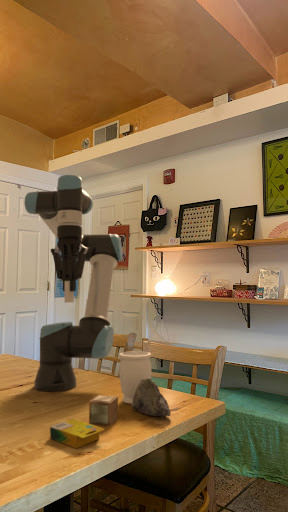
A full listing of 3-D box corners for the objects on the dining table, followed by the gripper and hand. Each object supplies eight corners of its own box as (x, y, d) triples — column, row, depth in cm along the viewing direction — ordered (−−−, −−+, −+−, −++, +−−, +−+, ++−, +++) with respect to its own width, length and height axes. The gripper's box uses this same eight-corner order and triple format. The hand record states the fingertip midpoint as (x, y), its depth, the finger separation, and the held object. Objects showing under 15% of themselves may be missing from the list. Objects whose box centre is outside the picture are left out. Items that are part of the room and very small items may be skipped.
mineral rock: (171, 422, 105) (171, 384, 106) (131, 423, 105) (131, 384, 106) (167, 408, 118) (167, 374, 119) (132, 408, 118) (132, 374, 119)
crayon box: (49, 438, 94) (81, 451, 87) (49, 426, 95) (81, 437, 87) (73, 430, 100) (105, 441, 92) (73, 418, 100) (105, 428, 93)
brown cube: (88, 424, 104) (88, 400, 104) (97, 417, 110) (97, 394, 110) (110, 426, 102) (110, 402, 103) (117, 419, 108) (117, 396, 109)
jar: (148, 406, 119) (147, 356, 121) (115, 404, 121) (115, 355, 123) (154, 397, 130) (153, 351, 131) (123, 395, 132) (123, 350, 133)
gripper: (44, 225, 121) (44, 302, 119) (80, 222, 115) (80, 303, 114) (59, 228, 127) (59, 301, 126) (94, 225, 122) (93, 302, 120)
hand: (69, 302), depth 120 cm, fingers closed
